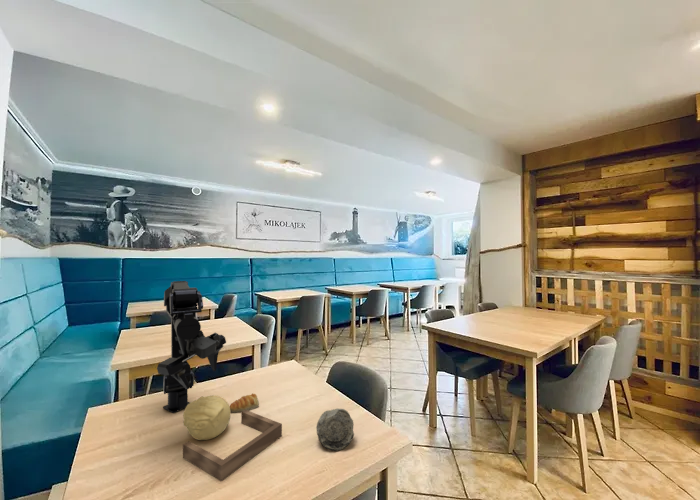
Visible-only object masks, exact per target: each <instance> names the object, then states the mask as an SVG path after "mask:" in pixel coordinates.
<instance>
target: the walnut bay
mask: <svg viewBox="0 0 700 500" xmlns="http://www.w3.org/2000/svg"><path fill="white" fill-rule="evenodd" d="M240 417H241V420H240V423H241V425H242V424H243V425H244V426H247V427H250V428H251V429H253V430H254V429H255V430H257V431H259V432H261V433H260V434H259V435H258V436H255V438H253V439H252V440H250V441H248V442H247V443H245V444H244V445H243V446H241V447H239V448H238V449H237V450H235V451H234V452H232V453H231V454H229V455H228V456H226V457H225V458H223V459H222V458H221V457H219V456H217V455H215V454H213V453H212V452H210V451H208V450H206V449H205V448H203V447H200V446H199V445H196V444H195V443H193V442H192V441H189V440H188V441H186V442H184V443H182V459H184V460H185V461H188V462H189V463H191V464H193V465H194V466H196V467H197V468H199V469H201V470H202V471H204V472H205V473H207V474H210V475H211V476H213V477H214V478H215V479H217V480H220V481H221V482H222V481H224V480H225V479H226V478H227V477H230V475H232V474H233V473H234V472H235V471H237V470H238V469H239V468H241V467H242V466H243V465H245V464H247V462H249V461H250V460H252V459H253V458H254V457H256V456H257V455H258V454H260V453H261V452H263V451H264V450H265V449H266V448H268V447H269V446H271V444H273V443H274V442H276V441H277V440H279V439H280V438H281V437H282V436H283V424H282V422H278V421H275V420H273V419H271V418H268V417H265V416H263V415H260V414H258V413H255V412H252V411H251V410H248V411H247V410H244V411H242V412H241V416H240Z"/></svg>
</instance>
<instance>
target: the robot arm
mask: <svg viewBox="0 0 700 500" xmlns="http://www.w3.org/2000/svg"><path fill="white" fill-rule="evenodd" d="M163 293H164V294H163V307H165V312H166V313H167V314H168V316H169V318H170V324H171V325H170V328H171V329H170V330H171V331H170V332H171V333H170V334H171V336H170V337H171V338H170V339H171V340H170V342H171V343H170V344H171V345H170V347H171V348H170V349H171V350H170V351H171V353H170V354H171V357H167V359H165V360H163V361H161V362H159V363H158V364H157V368H156V370H157V373H158V375H163V382H162V383H163V385H162V387H163V395H166V394H167V404H166V405H164V406H163V407H162V408H163V409H164V410H166V411H168V412H170V413H173V414H174V413H176V412H179V411H181V410H185V408H186V406H187V405H188V404H189V403H191V402H190V401H189V400H188V398H189V397H188V394H189V393H188V390H189V389H192V388H193V387H194V386H195V385H194V381H195V373H194V372H193V370H192V369H191V365H190V364H189V362H188V360H191V359H192V358H194V357H195V356H197V357H198V358H199V359H206V358H207V361H208V363H209V365H210V367H211V370H212V371H213V372H216V371H217V365H218V357H219V352H221V350H222V348H223V347H224V345H225V344H227V339H226V336H224V334H219V333H217V332H213V333H212V334H209V335H207V336H205V334H204V332H203V330H201V329H202V327H201V326H202V325H201V323H200V321H199V320H198V318H197V315H196V314H198V313H202V309H203V308H204V303H203V302H204V301H203V295H202V294H201V291H200V290H198V288H197V287H190V286H189V282H188V281H186V280H180V281H179V280H177V281H175V280H174V281H171V282H170V285H169V287H168V288H167V289H166V290H164V292H163Z"/></svg>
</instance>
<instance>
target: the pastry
mask: <svg viewBox="0 0 700 500" xmlns="http://www.w3.org/2000/svg"><path fill="white" fill-rule="evenodd" d="M259 401H260V400H259V399H258V395H257V394H256V393H254V392H253V393H251V394H247V395H242V396H241V397H239V398H238V399H236V400H235V401H233V402H232V403H230V404H229V407H230V413H240V412H242V411H244V410H247V411H251V410H255V409H257V408H258V407H259V406H260V402H259Z"/></svg>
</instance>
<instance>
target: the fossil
mask: <svg viewBox="0 0 700 500" xmlns="http://www.w3.org/2000/svg"><path fill="white" fill-rule="evenodd" d="M315 429H316V435H317V437H318V441H319V442H320V443H321V445H322V447H324V448H325V449H327V450H330V451H341V450H343V449H345V448H347V447H348V446H349V445H350V444H351V442H352V441H353V439H354V435H355V433H354V420H353V418H352V417H351V415H350V413H349V412H348V411H347V410H346V409H345V408H333V409H331V410H329V409H327V410H326V411H324V412H322V414H321V415H320V416H319V419H318V420H317V423H316V428H315Z"/></svg>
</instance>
